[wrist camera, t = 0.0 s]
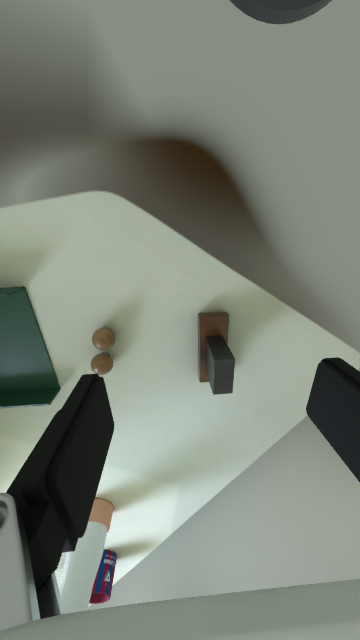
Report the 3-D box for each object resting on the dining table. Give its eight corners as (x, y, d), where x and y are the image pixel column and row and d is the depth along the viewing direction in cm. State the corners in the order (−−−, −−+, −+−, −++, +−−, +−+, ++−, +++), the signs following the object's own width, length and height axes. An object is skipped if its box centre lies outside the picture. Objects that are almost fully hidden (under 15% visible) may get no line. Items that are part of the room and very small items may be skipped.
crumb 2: (93, 350, 29) (85, 361, 27) (113, 348, 30) (108, 360, 27) (97, 366, 31) (90, 379, 28) (117, 365, 31) (111, 378, 28)
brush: (197, 312, 28) (207, 336, 21) (226, 310, 28) (244, 334, 21) (198, 375, 32) (206, 413, 26) (222, 374, 32) (237, 411, 26)
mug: (122, 555, 54) (115, 597, 48) (97, 568, 56) (88, 610, 50) (102, 547, 52) (93, 590, 46) (77, 561, 54) (66, 604, 48)
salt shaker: (120, 505, 45) (89, 678, 27) (102, 519, 47) (63, 690, 29) (91, 494, 43) (37, 674, 25) (73, 510, 45) (13, 688, 27)
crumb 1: (94, 324, 28) (86, 334, 25) (115, 323, 28) (110, 333, 25) (98, 343, 29) (91, 354, 26) (119, 342, 29) (114, 353, 26)
